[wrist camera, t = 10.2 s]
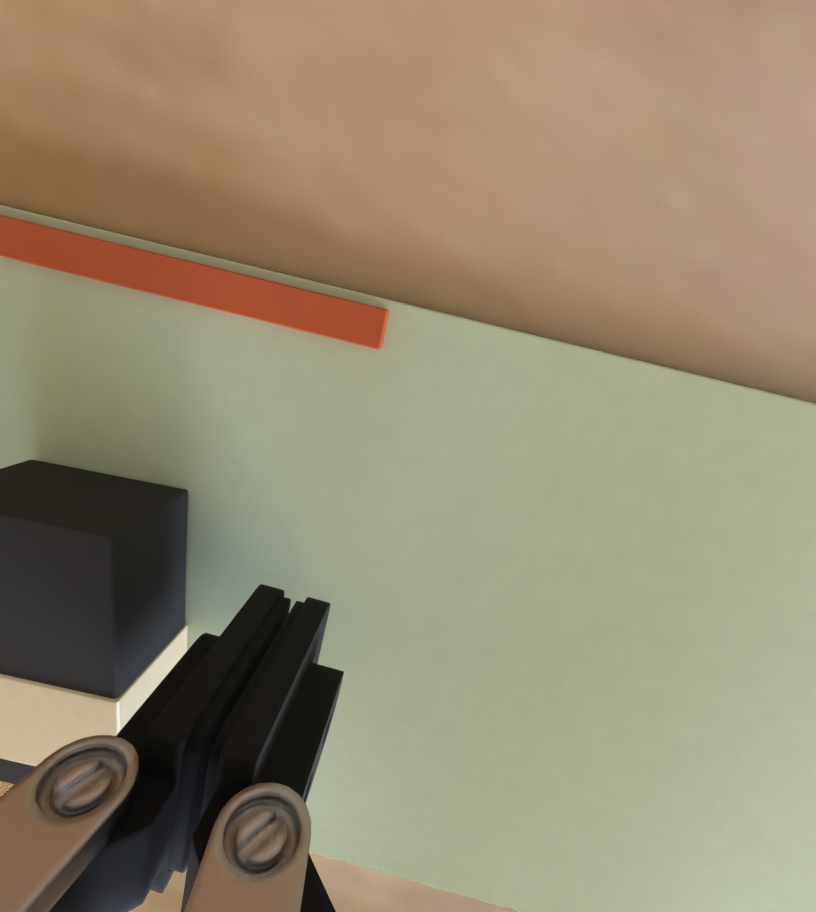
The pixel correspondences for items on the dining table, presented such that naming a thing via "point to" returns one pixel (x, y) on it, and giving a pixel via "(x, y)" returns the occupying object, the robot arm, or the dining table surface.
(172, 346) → the desk mat
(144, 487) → the eraser
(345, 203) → the dining table surface
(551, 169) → the dining table surface
